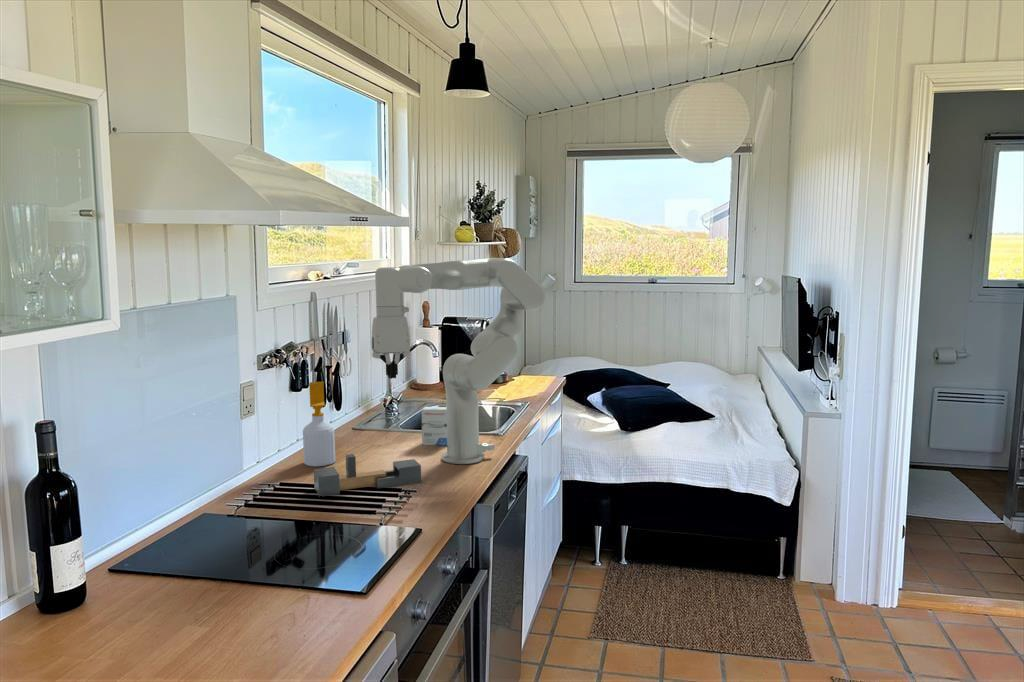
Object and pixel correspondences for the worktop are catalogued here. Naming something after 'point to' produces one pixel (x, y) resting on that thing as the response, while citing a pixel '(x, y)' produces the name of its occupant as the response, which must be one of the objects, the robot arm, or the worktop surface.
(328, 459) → the soap bottle
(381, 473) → the sliding bolt with handle
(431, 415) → the ink box
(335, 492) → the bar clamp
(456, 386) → the robot arm
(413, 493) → the worktop surface
